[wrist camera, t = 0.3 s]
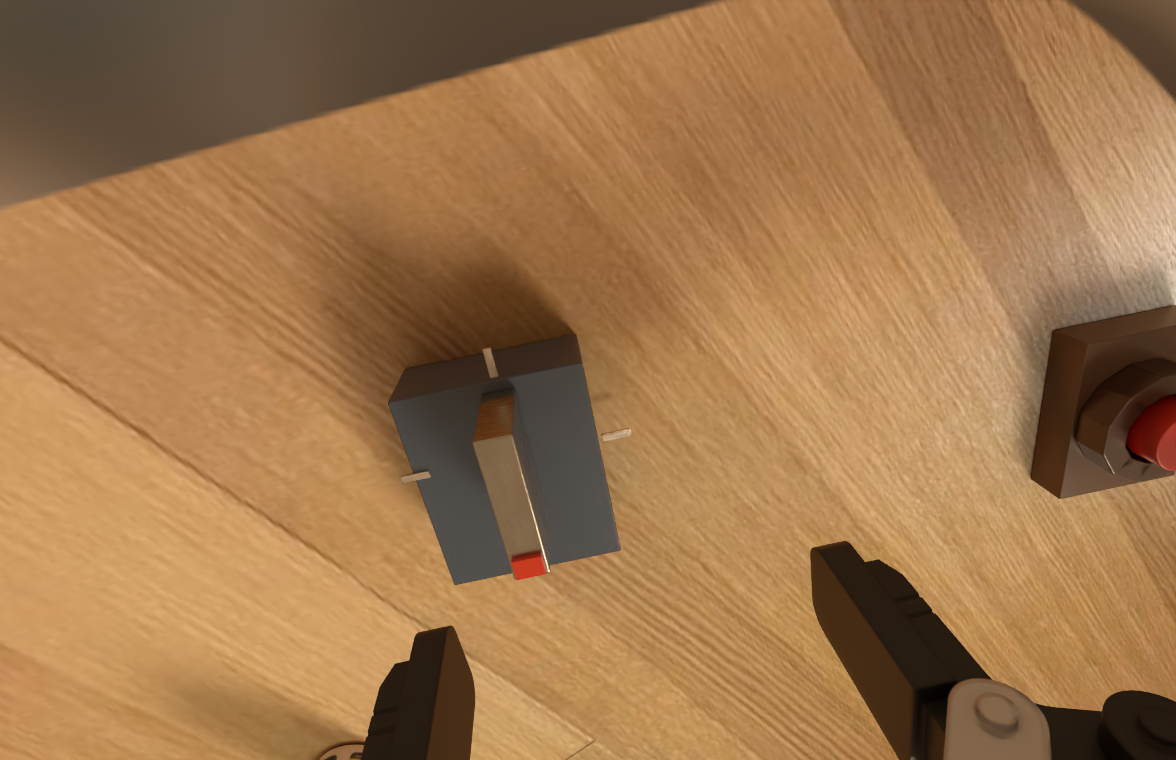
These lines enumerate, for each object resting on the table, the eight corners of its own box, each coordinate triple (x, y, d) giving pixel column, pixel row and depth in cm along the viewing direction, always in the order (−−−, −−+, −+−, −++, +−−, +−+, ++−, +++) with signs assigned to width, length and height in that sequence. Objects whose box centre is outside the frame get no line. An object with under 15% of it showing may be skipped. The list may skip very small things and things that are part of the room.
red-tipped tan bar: (481, 394, 27) (470, 446, 22) (515, 386, 27) (512, 437, 22) (516, 517, 29) (514, 584, 25) (547, 510, 29) (550, 577, 25)
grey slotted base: (382, 342, 29) (360, 374, 26) (600, 297, 29) (611, 323, 26) (452, 539, 34) (442, 590, 31) (638, 500, 35) (651, 546, 31)
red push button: (1131, 402, 31) (1165, 417, 29) (1199, 388, 31) (1236, 403, 29) (1119, 460, 32) (1150, 478, 30) (1183, 447, 32) (1217, 463, 30)
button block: (1053, 330, 32) (1119, 356, 29) (1175, 304, 33) (1256, 327, 29) (1030, 478, 37) (1085, 518, 33) (1139, 456, 37) (1206, 492, 33)
